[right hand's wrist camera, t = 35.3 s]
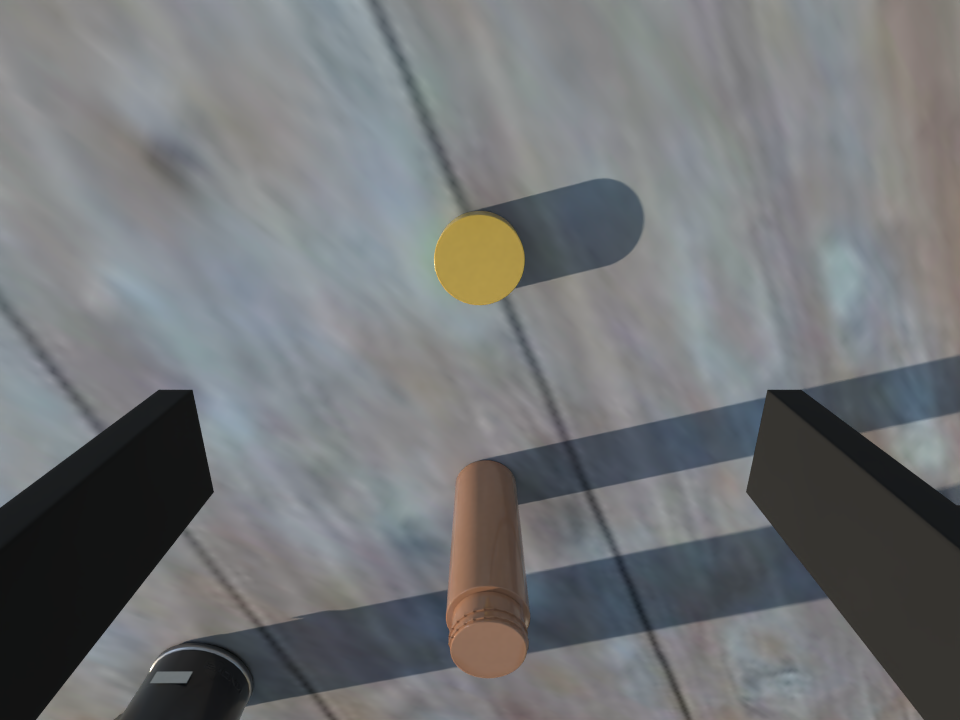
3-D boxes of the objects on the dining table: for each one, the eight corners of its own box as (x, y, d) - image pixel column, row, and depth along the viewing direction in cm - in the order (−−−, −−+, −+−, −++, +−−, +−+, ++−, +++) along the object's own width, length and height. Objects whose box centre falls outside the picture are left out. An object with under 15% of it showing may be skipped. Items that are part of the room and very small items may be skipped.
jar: (523, 467, 43) (545, 626, 29) (506, 516, 45) (518, 690, 31) (464, 453, 43) (455, 608, 28) (449, 504, 45) (434, 674, 30)
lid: (429, 286, 38) (426, 294, 36) (446, 201, 36) (443, 205, 34) (510, 304, 39) (512, 313, 36) (531, 221, 37) (534, 226, 34)
